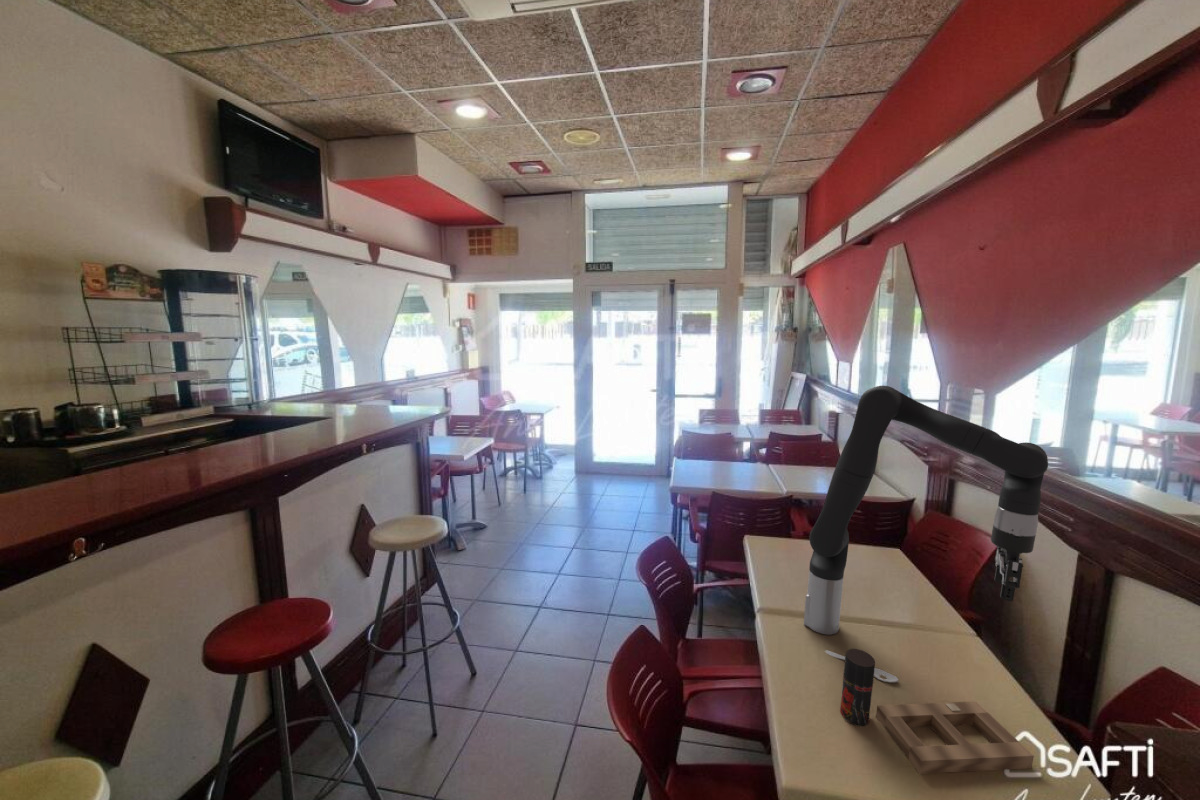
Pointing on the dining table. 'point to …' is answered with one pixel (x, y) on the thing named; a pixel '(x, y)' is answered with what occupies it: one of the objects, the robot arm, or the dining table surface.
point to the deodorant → (857, 687)
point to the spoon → (876, 671)
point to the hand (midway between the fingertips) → (1003, 591)
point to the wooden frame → (953, 738)
